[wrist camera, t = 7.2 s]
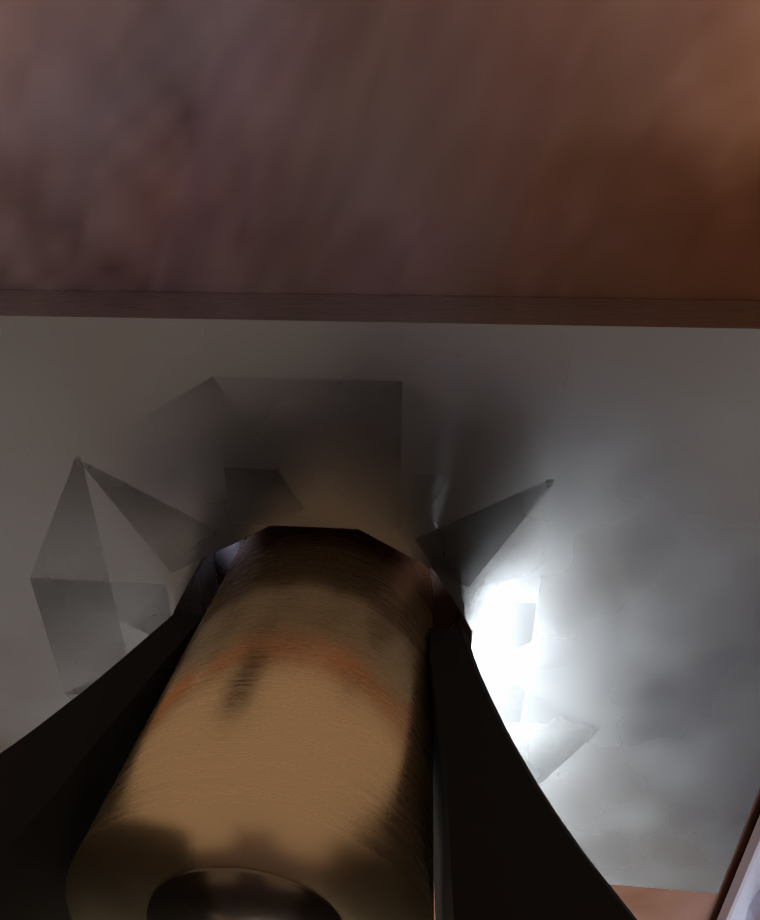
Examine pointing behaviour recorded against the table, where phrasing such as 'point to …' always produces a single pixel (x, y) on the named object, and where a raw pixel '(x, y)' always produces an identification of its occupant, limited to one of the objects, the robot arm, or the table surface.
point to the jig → (421, 514)
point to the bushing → (282, 750)
